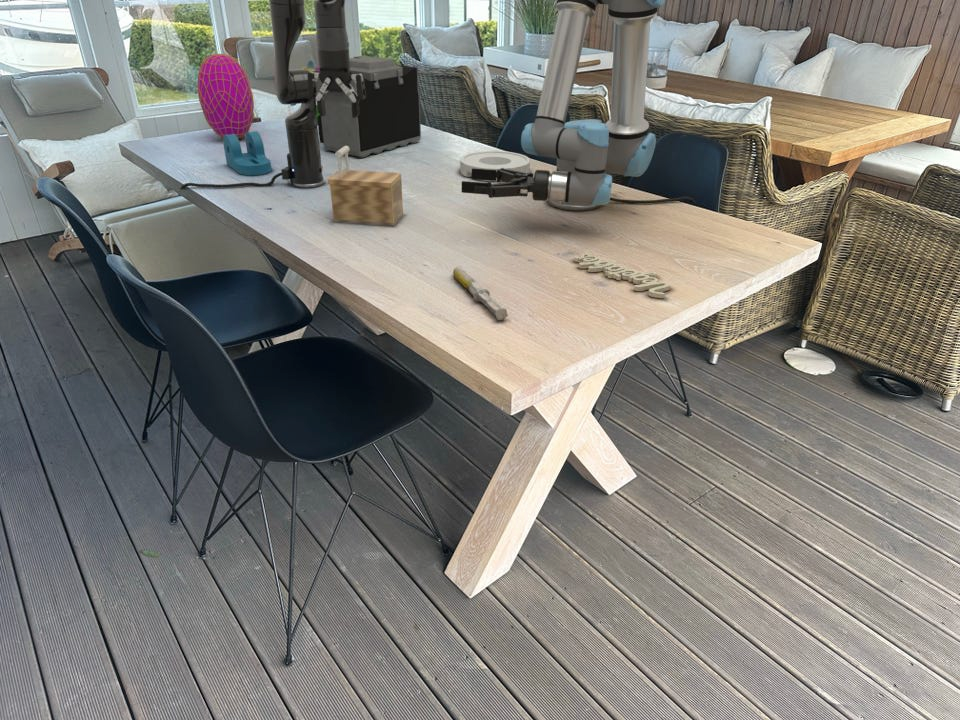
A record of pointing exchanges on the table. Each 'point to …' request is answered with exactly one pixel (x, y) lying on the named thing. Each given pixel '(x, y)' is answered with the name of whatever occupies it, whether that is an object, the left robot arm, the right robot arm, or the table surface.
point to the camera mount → (246, 154)
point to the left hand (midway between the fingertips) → (339, 116)
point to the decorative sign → (625, 274)
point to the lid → (361, 175)
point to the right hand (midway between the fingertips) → (466, 180)
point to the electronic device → (373, 109)
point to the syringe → (479, 293)
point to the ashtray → (493, 162)
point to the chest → (367, 204)
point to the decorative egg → (225, 95)
